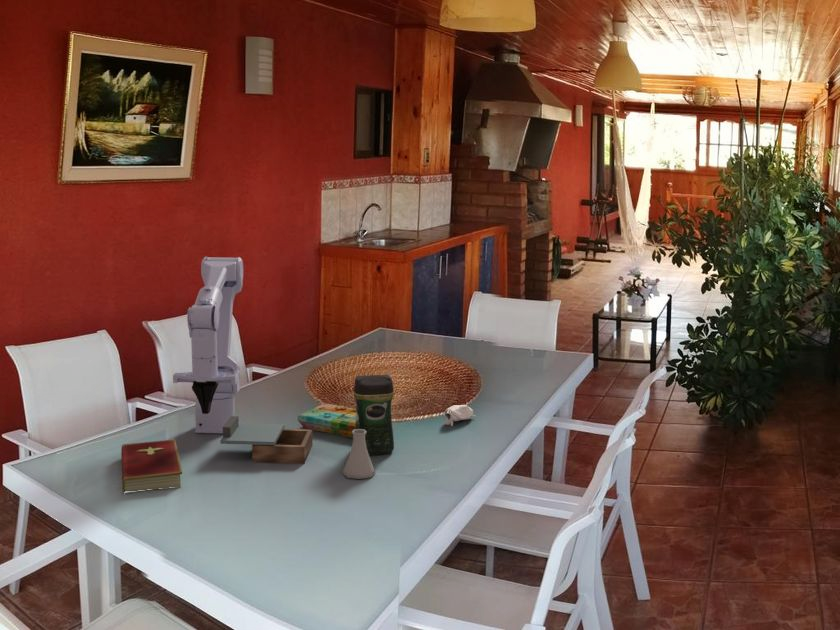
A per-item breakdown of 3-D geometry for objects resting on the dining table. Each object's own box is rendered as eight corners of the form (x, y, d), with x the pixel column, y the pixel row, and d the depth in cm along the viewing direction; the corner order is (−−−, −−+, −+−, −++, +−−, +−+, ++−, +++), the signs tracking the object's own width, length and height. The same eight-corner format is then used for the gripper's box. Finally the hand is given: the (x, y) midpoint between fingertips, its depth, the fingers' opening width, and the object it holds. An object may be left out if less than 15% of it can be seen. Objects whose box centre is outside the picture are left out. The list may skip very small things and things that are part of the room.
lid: (220, 443, 196) (220, 430, 195) (233, 425, 208) (233, 413, 207) (274, 445, 196) (274, 431, 195) (284, 427, 208) (284, 414, 207)
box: (252, 462, 197) (252, 445, 196) (263, 443, 208) (262, 428, 208) (304, 463, 196) (304, 447, 196) (312, 445, 208) (312, 429, 207)
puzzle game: (323, 400, 229) (388, 412, 221) (323, 417, 230) (388, 429, 221) (297, 412, 219) (365, 425, 210) (297, 429, 220) (365, 443, 211)
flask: (342, 467, 195) (342, 425, 192) (374, 467, 195) (375, 425, 193) (342, 480, 187) (342, 437, 185) (375, 480, 188) (376, 436, 186)
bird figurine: (461, 433, 223) (478, 414, 231) (454, 410, 221) (471, 392, 229) (445, 433, 226) (462, 414, 234) (438, 410, 224) (456, 392, 232)
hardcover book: (123, 496, 178) (122, 477, 177) (121, 460, 197) (120, 443, 196) (182, 489, 182) (182, 471, 181) (175, 455, 201) (175, 438, 200)
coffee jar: (390, 443, 211) (391, 370, 207) (396, 455, 203) (397, 379, 199) (351, 445, 209) (351, 371, 205) (355, 457, 201) (355, 380, 197)
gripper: (167, 359, 194) (170, 416, 197) (231, 361, 194) (232, 418, 197) (177, 352, 201) (179, 407, 204) (238, 353, 201) (240, 409, 204)
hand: (206, 412), depth 201 cm, fingers closed
